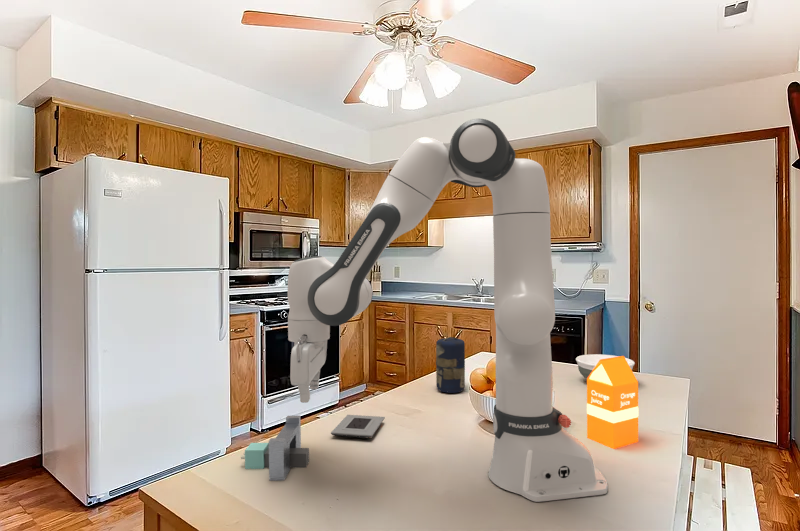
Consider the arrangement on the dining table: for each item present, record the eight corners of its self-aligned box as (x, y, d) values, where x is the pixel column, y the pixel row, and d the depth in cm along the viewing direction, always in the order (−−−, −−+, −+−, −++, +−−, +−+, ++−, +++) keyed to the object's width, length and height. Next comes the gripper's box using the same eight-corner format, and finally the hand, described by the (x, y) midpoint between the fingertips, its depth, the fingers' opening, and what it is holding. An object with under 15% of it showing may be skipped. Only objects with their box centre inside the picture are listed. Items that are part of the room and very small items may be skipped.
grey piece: (300, 449, 109) (300, 415, 109) (284, 480, 94) (283, 441, 94) (288, 449, 109) (287, 415, 109) (269, 480, 94) (268, 441, 94)
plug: (309, 460, 103) (309, 442, 103) (305, 468, 99) (305, 450, 99) (246, 460, 103) (245, 442, 103) (239, 468, 99) (239, 450, 99)
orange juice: (639, 442, 111) (638, 358, 110) (613, 449, 107) (613, 362, 106) (610, 431, 118) (610, 352, 117) (586, 437, 114) (585, 356, 113)
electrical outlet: (372, 443, 113) (371, 434, 112) (330, 440, 115) (330, 431, 115) (384, 424, 125) (384, 415, 125) (347, 422, 128) (347, 413, 128)
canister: (432, 388, 158) (431, 335, 157) (457, 385, 161) (457, 333, 160) (443, 396, 149) (442, 340, 148) (470, 393, 152) (469, 338, 151)
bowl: (587, 391, 152) (587, 366, 152) (568, 376, 171) (568, 354, 170) (645, 391, 151) (645, 366, 151) (620, 376, 170) (620, 354, 170)
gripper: (314, 339, 90) (315, 410, 90) (331, 324, 111) (331, 382, 111) (281, 340, 90) (282, 410, 91) (304, 324, 111) (305, 382, 111)
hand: (310, 394), depth 101 cm, fingers open, 8 cm apart
